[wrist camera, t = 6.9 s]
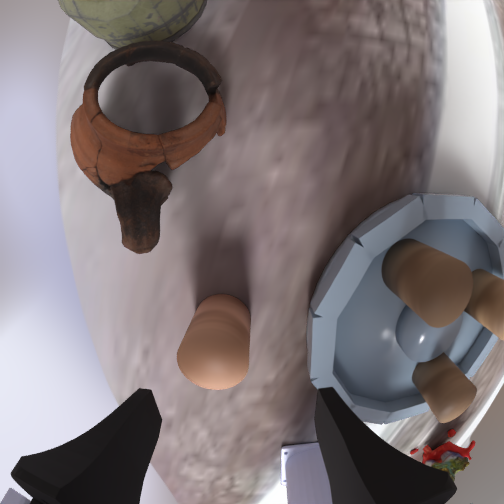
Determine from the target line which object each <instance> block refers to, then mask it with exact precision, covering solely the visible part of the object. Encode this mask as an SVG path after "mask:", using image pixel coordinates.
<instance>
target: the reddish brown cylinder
mask: <svg viewBox="0 0 504 504" xmlns="http://www.w3.org/2000/svg"><path fill="white" fill-rule="evenodd" d="M250 324H251V318H250V313H249V311H248V309H247V307H246V306H245V304H244V303H243V302H242V301H240V300H239V299H237V298H236V297H233V296H231V295H226V294H216V295H212V296H210V297H208V298H206V299H204V300H203V301H202V302H201V303H200V305H199V306H198V308H197V310H196V312H195V315H194V317H193V319H192V321H191V323H190V325H189V327H188V329H187V331H186V334H185V336H184V338H183V340H182V342H181V344H180V346H179V349H178V352H177V362H178V366H179V368H180V370H181V372H182V373H183V374H184V376H185V377H186V378H187V379H189V380H190V381H191V382H193V383H194V384H196V385H198V386H201V387H203V388H207V389H214V390H221V389H227V388H230V387H233V386H235V385H237V384H238V383H240V382H241V381H242V380H243V379H244V377H245V376H246V374H247V372H248V368H249V347H250Z"/></svg>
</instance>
